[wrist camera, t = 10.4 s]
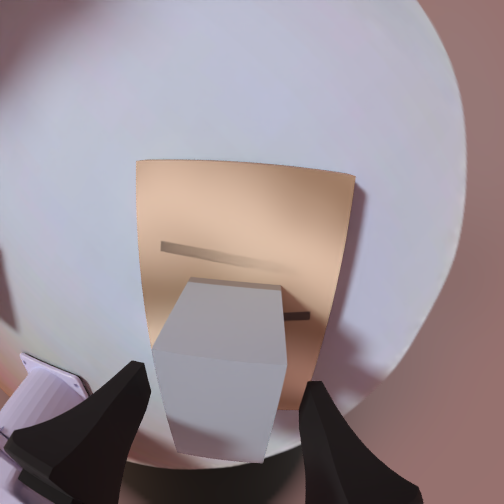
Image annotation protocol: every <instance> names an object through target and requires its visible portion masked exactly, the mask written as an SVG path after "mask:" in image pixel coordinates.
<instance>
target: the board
mask: <svg viewBox="0 0 504 504" xmlns="http://www.w3.org/2000/svg"><path fill="white" fill-rule="evenodd" d="M355 177H356V176H353V175H350V174H346V173H340V172H333V171H326V170H319V169H311V168H303V167H294V166H284V165H274V164H263V163H250V162H235V161H215V160H141V161H136V207H137V231H138V247H139V260H140V271H141V280H142V289H143V297H144V305H145V312H146V319H147V326H148V332H149V338H150V343H151V349H152V347H153V345H154V343H155V341H156V339H157V337H158V335H159V333H160V332H161V330H162V328H163V326H164V324H165V322H166V320H167V319H168V317H169V315H170V313H171V311H172V309H173V308H174V306H175V304H176V302H177V300H178V298H179V297H180V295H181V293H182V291H183V289H184V288H185V286H186V284H187V282H188V281H189V279H190V277H198V278H207V279H217V280H227V281H238V282H249V283H261V284H272V285H281V294H282V305H283V316H284V328H285V341H286V354H287V369H286V374H285V378H284V382H283V387H282V391H281V395H280V399H279V403H278V408H277V410H299V406H300V403H301V400H302V397H303V394H304V391H305V388H306V385H307V382H308V381H311V378H312V375H313V372H314V369H315V366H316V362H317V359H318V355H319V352H320V349H321V345H322V341H323V338H324V334H325V330H326V327H327V323H328V319H329V315H330V311H331V307H332V303H333V299H334V294H335V290H336V286H337V281H338V276H339V272H340V267H341V262H342V257H343V252H344V247H345V242H346V236H347V230H348V225H349V218H350V212H351V206H352V199H353V192H354V185H355Z"/></svg>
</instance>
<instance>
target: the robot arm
mask: <svg viewBox="0 0 504 504" xmlns="http://www.w3.org/2000/svg"><path fill="white" fill-rule="evenodd" d="M20 358H21V360H22V362H23V364H24V366H25V368H26V370H27V372H28V375H27V377H26V378H25V379H24V380H23V382H22V383H21V384H20V385H19V387H18V388H17V389H16V391H15V392H14V393H13V394H12V396H11V397H10V398H9V400H8V401H7V403H6V404H5V405H4V407H3V408H2V409H1V411H0V504H118V500H119V492H120V487H121V481H122V477H123V472H124V468H125V464H126V460H127V456H128V453H129V450H130V447H131V444H132V442H133V440H134V437H135V435H136V433H137V430H138V428H139V426H140V423H141V421H142V419H143V416H144V414H145V412H146V409H147V405H148V402H149V398H150V394H151V389H150V385H149V381H148V377H147V373H146V369H145V365H144V363H141V362H137V361H131V362H130V363H128V364H127V365H126V366H125V367H124V368H123V369H122V370H121V371H120V372H118V373H117V374H116V375H115V376H114V377H113V378H112V379H111V380H109V381H108V382H107V383H106V384H105V385H103V386H102V387H101V388H100V389H99V390H97V391H96V392H95V393H93V394H92V395H91V396H90V397H89V396H88V394H87V392H86V390H85V388H84V386H83V384H82V382H81V380H80V378H79V377H77V376H76V375H73V374H70V373H68V372H65V371H63V370H60V369H58V368H55V367H53V366H51V365H48V364H46V363H44V362H41V361H39V360H37V359H35V358H33V357H31V356H29V355H26V354H24V353H21V354H20ZM299 430H300V437H301V444H302V451H303V458H304V465H305V475H306V501H305V504H423V499H422V495H421V492H420V490H419V487H418V486H416V485H414V484H412V483H411V482H409V481H407V480H406V479H404V478H402V477H401V476H399V475H398V474H397V473H395V472H394V471H392V470H391V469H390V468H388V467H387V466H386V465H385V464H384V463H383V462H382V461H380V460H379V459H378V458H377V457H376V456H375V455H374V454H373V453H372V452H371V451H370V450H369V449H368V448H367V447H366V446H365V445H364V444H363V443H362V442H361V440H360V439H359V438H358V437H357V436H356V434H355V433H354V432H353V430H352V429H351V428H350V427H349V425H348V424H347V422H346V421H345V419H344V418H343V416H342V415H341V413H340V412H339V410H338V409H337V407H336V405H335V404H334V402H333V400H332V399H331V397H330V395H329V393H328V392H327V390H326V388H325V386H324V384H323V383H322V381H308V382H307V385H306V388H305V391H304V394H303V397H302V400H301V403H300V406H299Z"/></svg>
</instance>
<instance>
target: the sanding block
mask: <svg viewBox="0 0 504 504" xmlns="http://www.w3.org/2000/svg"><path fill="white" fill-rule="evenodd" d="M152 355H153V360H154V365H155V370H156V374H157V379H158V383H159V388H160V392H161V396H162V400H163V404H164V408H165V412H166V416H167V419H168V423H169V426H170V430H171V433H172V437H173V440H174V443H175V446H176V450H177V452H178V453H183V454H188V455H194V456H200V457H206V458H213V459H220V460H229V461H239V462H252V463H263V460H264V456H265V453H266V449H267V446H268V442H269V438H270V435H271V431H272V427H273V423H274V419H275V416H276V412H277V408H278V403H279V399H280V395H281V391H282V387H283V382H284V378H285V374H286V369H287V354H286V341H285V328H284V316H283V305H282V294H281V285H272V284H261V283H249V282H238V281H227V280H217V279H207V278H198V277H190V279H189V281H188V282H187V284H186V286H185V288H184V289H183V291H182V293H181V295H180V297H179V298H178V300H177V302H176V304H175V306H174V308H173V309H172V311H171V313H170V315H169V317H168V319H167V320H166V322H165V324H164V326H163V328H162V330H161V332H160V333H159V335H158V337H157V339H156V341H155V343H154V345H153V347H152Z"/></svg>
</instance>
